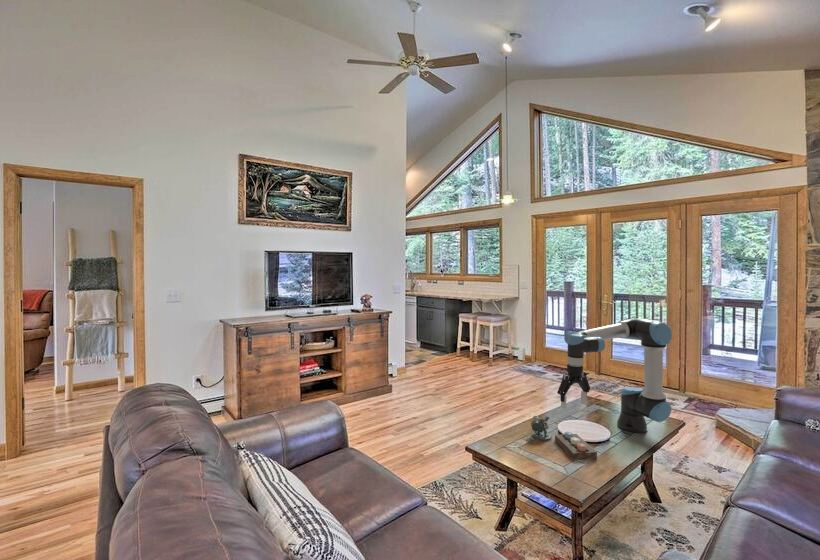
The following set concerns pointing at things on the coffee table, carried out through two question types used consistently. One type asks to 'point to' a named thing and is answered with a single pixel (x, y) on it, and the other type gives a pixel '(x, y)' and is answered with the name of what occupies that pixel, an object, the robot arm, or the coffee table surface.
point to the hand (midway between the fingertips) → (573, 405)
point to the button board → (575, 448)
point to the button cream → (574, 441)
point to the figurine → (540, 429)
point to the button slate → (568, 435)
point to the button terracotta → (581, 447)
